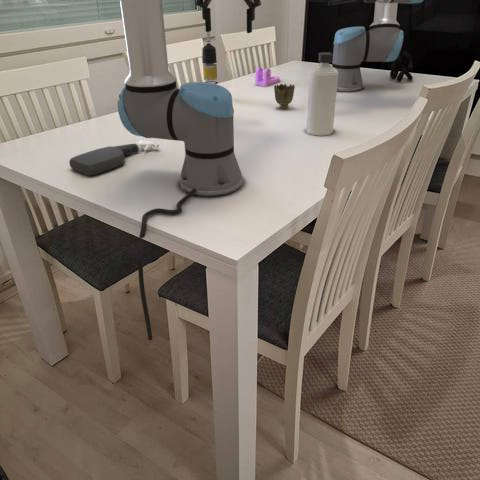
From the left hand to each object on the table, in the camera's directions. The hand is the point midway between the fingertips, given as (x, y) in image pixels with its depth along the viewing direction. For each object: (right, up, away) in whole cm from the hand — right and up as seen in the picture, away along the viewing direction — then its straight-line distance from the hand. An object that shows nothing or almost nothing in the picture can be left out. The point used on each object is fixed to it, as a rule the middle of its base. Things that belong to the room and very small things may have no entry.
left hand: (228, 32), depth 139 cm
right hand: (+27, +17, +7) cm, 33 cm away
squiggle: (+76, +7, +62) cm, 98 cm away
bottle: (+29, -30, +4) cm, 42 cm away
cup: (+20, -16, +27) cm, 37 cm away
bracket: (+17, +6, +62) cm, 64 cm away
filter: (-8, -8, +40) cm, 42 cm away
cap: (+29, -10, -8) cm, 31 cm away
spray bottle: (-31, -42, -14) cm, 54 cm away
